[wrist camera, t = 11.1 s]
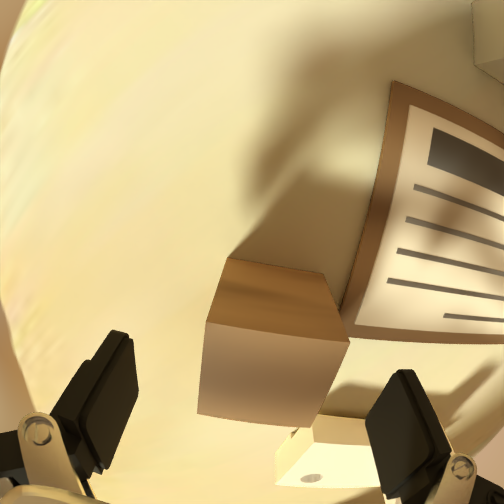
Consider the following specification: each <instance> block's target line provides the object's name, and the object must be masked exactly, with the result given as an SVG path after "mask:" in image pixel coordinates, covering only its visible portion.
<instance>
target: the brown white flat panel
mask: <svg viewBox="0 0 504 504" xmlns="http://www.w3.org/2000/svg"><path fill="white" fill-rule="evenodd" d="M339 315H340V317H341V320H342V322H343V325H344V328H345V330H346V333H347V336H348V337H352V338H363V339H375V340H388V341H402V342H420V343H443V344H504V134H503V133H502V132H500V131H498V130H497V129H495V128H493V127H492V126H490V125H488V124H487V123H485V122H483V121H481V120H480V119H478V118H476V117H474V116H472V115H470V114H469V113H467V112H465V111H463V110H461V109H459V108H457V107H455V106H453V105H451V104H449V103H447V102H444V101H442V100H440V99H438V98H436V97H434V96H431V95H429V94H427V93H424V92H422V91H420V90H417V89H415V88H412V87H410V86H407V85H405V84H402V83H399V82H397V81H392V85H391V93H390V100H389V107H388V114H387V120H386V126H385V132H384V138H383V144H382V149H381V154H380V159H379V164H378V169H377V174H376V179H375V183H374V188H373V192H372V197H371V201H370V205H369V209H368V213H367V217H366V221H365V225H364V229H363V233H362V237H361V240H360V244H359V248H358V251H357V255H356V258H355V262H354V265H353V269H352V272H351V275H350V279H349V282H348V285H347V288H346V291H345V295H344V298H343V301H342V304H341V307H340V310H339Z"/></svg>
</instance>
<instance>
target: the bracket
mask: <svg viewBox="0 0 504 504" xmlns="http://www.w3.org/2000/svg"><path fill="white" fill-rule="evenodd" d="M439 422H440V421H439ZM440 424H441V422H440ZM441 426H442V424H441ZM442 429H443V431H444V433H445V430H444V428H443V426H442ZM445 435H446V433H445ZM446 438H447V440H448V442H449V444H450V447H451V449H452V452H451V453H450V455H451V456H452V455H454V454H455V452H454V450H453V448H452V446H451V443H450V441H449V439H448V437H447V435H446ZM275 485H284V486H296V487H315V488H357V487H376V486H380V482H379V477H378V473H377V469H376V465H375V461H374V457H373V453H372V449H371V445H370V442H369V438H368V434H367V430H366V427H365V419H356V418H346V417H337V416H328V415H321V414H317V416H316V418H315V420H314V422H313V424H312V426H311V428H302V427H300V428H299V429H298V431H297V432H296V433H290V434H289V436H288V437H287V438H286V440H285V441H284V442H283V444H282V445H281V446H280V448H279V449H278V450H277V452H276V453H275ZM383 496H384V500H385V504H400V503H401V499H400V497H399V498H395V499H390V500H387V499H386V494H383Z"/></svg>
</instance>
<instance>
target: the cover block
mask: <svg viewBox="0 0 504 504" xmlns="http://www.w3.org/2000/svg"><path fill="white" fill-rule="evenodd" d="M471 5H472V16H473V32H474V66H476V67H478V68H479V69H481V70H483V71H484V72H486V73H487V74H489V75H490V76H492V77H493V78H495V79H496V80H498V81H499V82H501V83H502V84H504V0H477V1H475V2H473V3H471Z"/></svg>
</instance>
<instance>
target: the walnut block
mask: <svg viewBox="0 0 504 504" xmlns="http://www.w3.org/2000/svg"><path fill="white" fill-rule="evenodd" d="M349 344H350V341H349V338H348V336H347V333H346V330H345V328H344V325H343V322H342V320H341V317H340V315H339V312H338V310H337V307H336V305H335V302H334V300H333V297H332V295H331V292H330V290H329V287H328V285H327V282H326V280H325V277H324V275H323V274H320V273H315V272H309V271H303V270H297V269H291V268H285V267H279V266H273V265H267V264H262V263H256V262H250V261H244V260H239V259H233V258H227V260H226V263H225V266H224V269H223V272H222V275H221V278H220V281H219V284H218V287H217V290H216V293H215V296H214V299H213V302H212V305H211V308H210V311H209V314H208V317H207V320H206V325H205V335H204V344H203V354H202V364H201V374H200V385H199V397H198V408H197V414H201V415H206V416H212V417H217V418H223V419H229V420H236V421H242V422H250V423H258V424H267V425H276V426H288V427H302V428H311V426H312V424H313V422H314V420H315V418H316V416H317V414H318V412H319V410H320V408H321V406H322V404H323V402H324V400H325V398H326V396H327V394H328V392H329V390H330V388H331V385H332V383H333V381H334V379H335V377H336V374H337V372H338V370H339V368H340V366H341V363H342V361H343V359H344V356H345V354H346V352H347V349H348V347H349Z"/></svg>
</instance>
